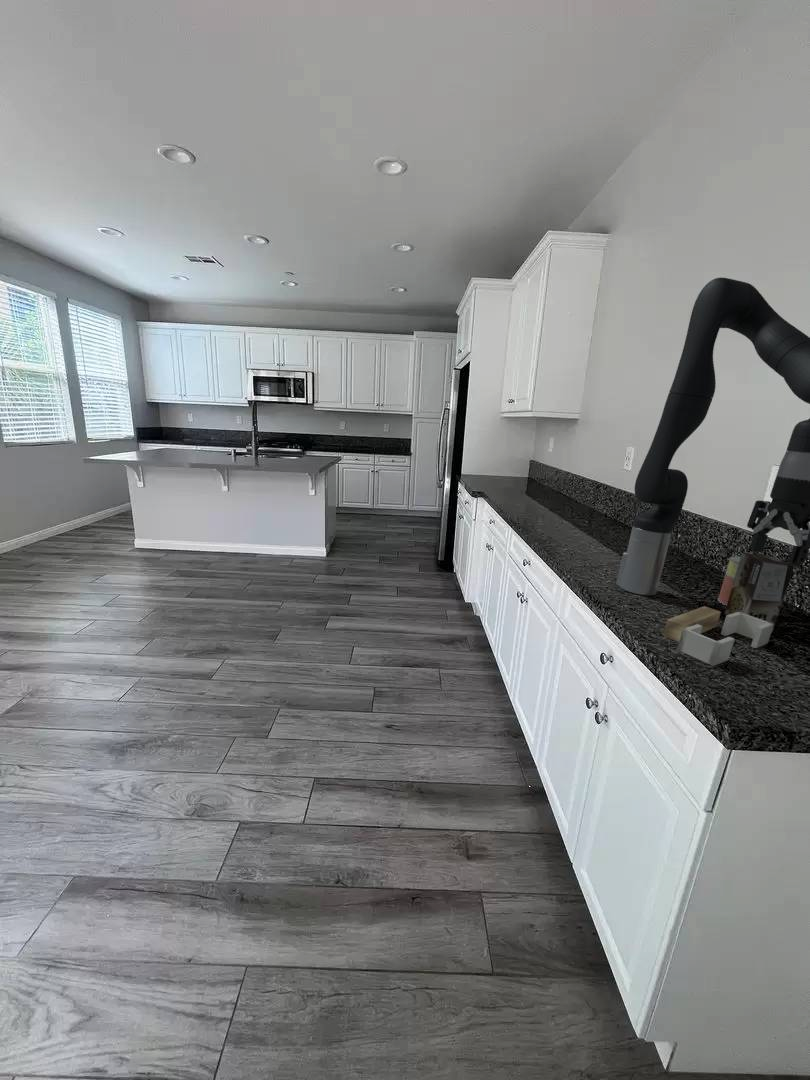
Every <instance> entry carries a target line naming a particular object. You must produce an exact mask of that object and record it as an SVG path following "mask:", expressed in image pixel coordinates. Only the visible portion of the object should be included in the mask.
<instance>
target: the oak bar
mask: <svg viewBox="0 0 810 1080" xmlns="http://www.w3.org/2000/svg"><path fill="white" fill-rule="evenodd" d="M720 616H721V611H719V610H717V609H714V608H710V607H709V606H705V605H704V606H701V607H698V608H696V609H693V610H690V611H688V612H684V613H682V614H680V615H679V614H678V615H676V616H673V617H671V618H668V619H667V620H666V624H665V628H664V632H663V633H662V634H663V637H665V638H668V639H670V640H673V641H675V642H677V643H679V641H680V637H681V633H682V630H683V629H684V628H687V627H690V626H694V625H697V624H699V625H701V626H702V630H701V633H700V634H701V635H702V634H703V633H706V632H708V631H710V630H712V628H713V629H714V628H717V627H718V623H719V620H720Z"/></svg>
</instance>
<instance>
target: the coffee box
mask: <svg viewBox="0 0 810 1080" xmlns="http://www.w3.org/2000/svg"><path fill="white" fill-rule="evenodd" d="M740 557H741V558H740V561H739V565H738V568H737V572H736V575H735V579H734V582H733V586H732V589H731V593H730V596H729V600H728V603H727V606H726V608H725V611H724V615H725V616H726V615H730V614H733V613H736V612H741V613H744V614H746V615H749V616H752V617H755V618H758V619H761V620H764V621H767V622H769V623H772V624H774V626H773V629H772V632H771V634H772V633H773V631H774V630H775V629H774V628H775V626H776V622H777V619H778V617H779V614H780V611H781V608H782V605H783V602H784V599H785V597H786V592H787V591H788V587H789V584H790V580H791V577H792V575H793V572H794V569H795V565H791V564H789V563H788V562H787V561H783V560H782V559H780V558H777V557H774V556H772V555H767V554H761V553H747V552H741V555H740Z"/></svg>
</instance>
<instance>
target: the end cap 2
mask: <svg viewBox="0 0 810 1080" xmlns="http://www.w3.org/2000/svg"><path fill="white" fill-rule="evenodd" d="M773 626H774V624H772V623H769V622H767V621H764V620H761V619H758V618H755V617H752V616H749V615H746V614H744V613H741V612H736V613H733V614H730V615H726V614H725V619H724V623H723V626H722V628H721V632H720V635H721V636H723V637H728V636H730V635H732V634H733V635H734V634H735V633H736V634H739V635H742V636H744V637H747V638H748V639H752V641H751V645H750V647H752V648H755V649H758V648H760V647H763V646H765V645H768V643H769V641H770V638H771V636H772V635H771V634H772V633H773V632H772V629H773ZM774 627H775V626H774ZM773 630H774V629H773ZM771 632H772V633H771Z"/></svg>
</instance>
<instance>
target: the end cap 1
mask: <svg viewBox="0 0 810 1080" xmlns="http://www.w3.org/2000/svg"><path fill="white" fill-rule="evenodd" d="M701 630H702V626H701V625H699V624H697V625H694V626H690V627H687V628H684V629H683V630H682V633H681V637H680V641H679V642H678V644H677V648H676V650H677V651H680V652H681V653H684V654H686V655H688V656H691V657H693V658H694V659H697V660H698V661H701V662H703V663H706V664H708V665H710V666H712V667H716V666H717V665H720V664H722V663H724V662H726V661H729V659H730V656H731V652H732V650H733V646H734V642H735V638H733V637H731V636H726V637H724V638H722V639H720V640H715V639H712V638H710V637H708V636H706V635H703V634H702V633H701ZM700 633H701V634H700Z"/></svg>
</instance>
